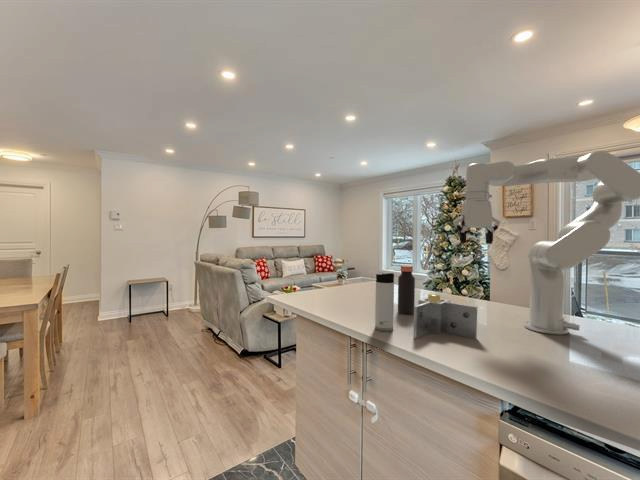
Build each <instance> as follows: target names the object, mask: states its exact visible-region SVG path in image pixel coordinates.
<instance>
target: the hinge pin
mask: <svg viewBox="0 0 640 480" xmlns="http://www.w3.org/2000/svg"><path fill="white" fill-rule="evenodd" d="M427 297H428V301H431V302H437V303H440V299H441V295H440V294H436V293H435V294H434V293H429V294H428V295H427Z"/></svg>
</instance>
